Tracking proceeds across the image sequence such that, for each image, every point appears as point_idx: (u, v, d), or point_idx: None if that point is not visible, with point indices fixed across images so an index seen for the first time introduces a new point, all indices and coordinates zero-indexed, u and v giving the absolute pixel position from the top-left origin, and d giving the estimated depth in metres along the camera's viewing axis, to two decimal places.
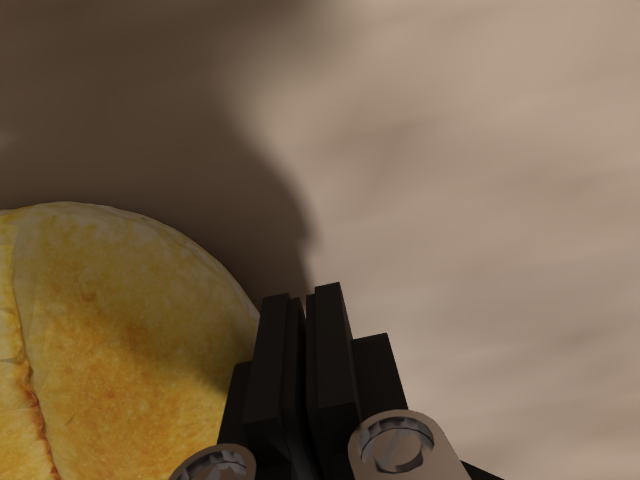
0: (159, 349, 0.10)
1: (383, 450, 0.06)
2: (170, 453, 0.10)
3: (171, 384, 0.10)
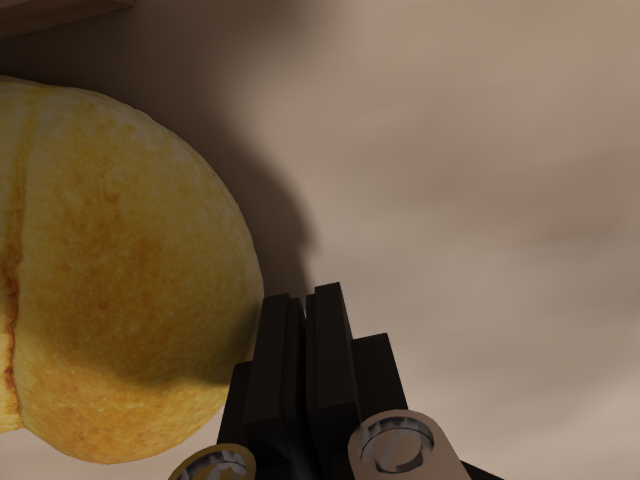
0: (168, 273, 0.09)
1: (383, 450, 0.06)
2: (145, 384, 0.09)
3: (169, 312, 0.09)
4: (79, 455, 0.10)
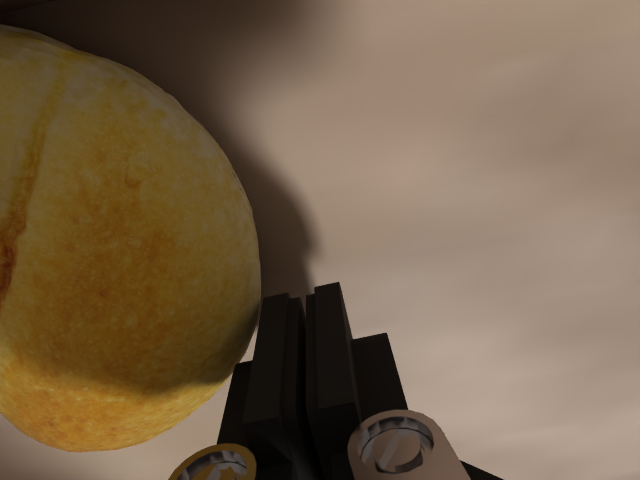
0: (177, 270, 0.09)
1: (383, 450, 0.06)
2: (130, 380, 0.09)
3: (170, 311, 0.09)
4: (43, 439, 0.10)
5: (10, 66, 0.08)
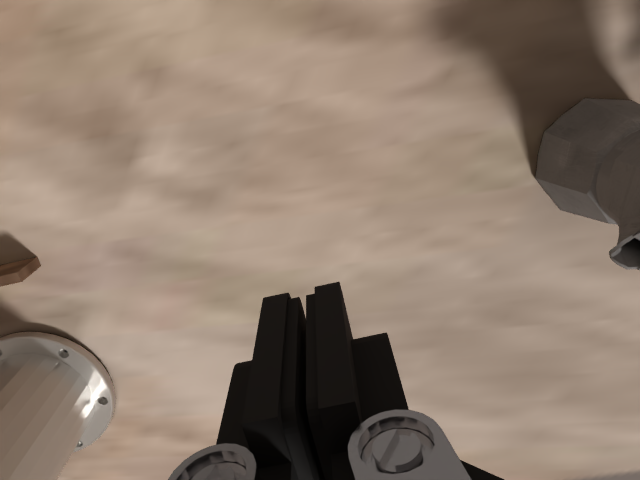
0: None
1: (383, 450, 0.06)
2: None
3: None
4: None
5: None
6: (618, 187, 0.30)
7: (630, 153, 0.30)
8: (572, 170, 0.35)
